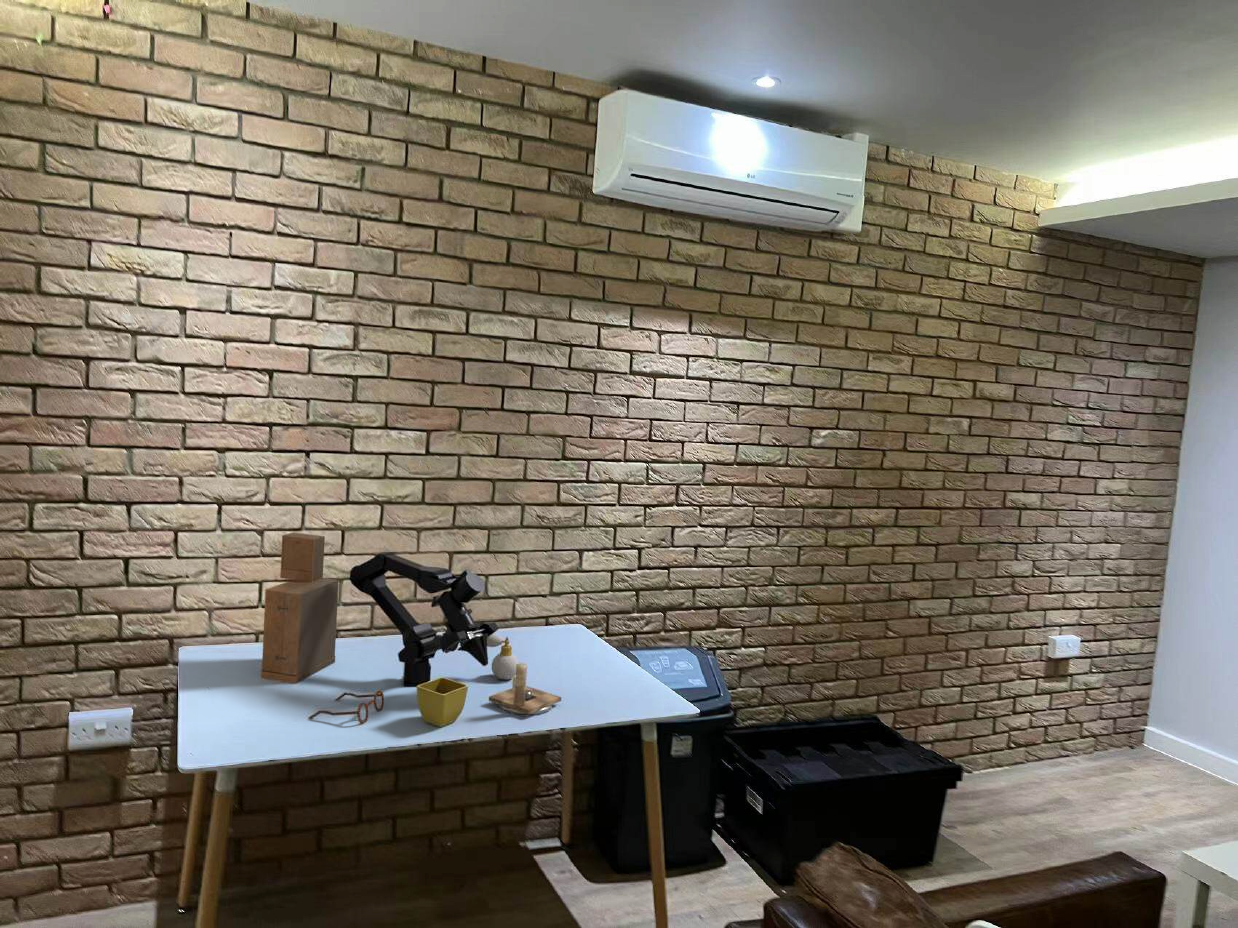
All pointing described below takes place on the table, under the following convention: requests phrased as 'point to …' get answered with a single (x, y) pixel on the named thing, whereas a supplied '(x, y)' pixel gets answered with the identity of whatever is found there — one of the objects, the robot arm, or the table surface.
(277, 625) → the stacked wooden blocks
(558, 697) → the flange plate
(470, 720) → the table surface
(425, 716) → the flower pot
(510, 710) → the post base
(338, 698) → the glasses
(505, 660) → the perfume bottle
